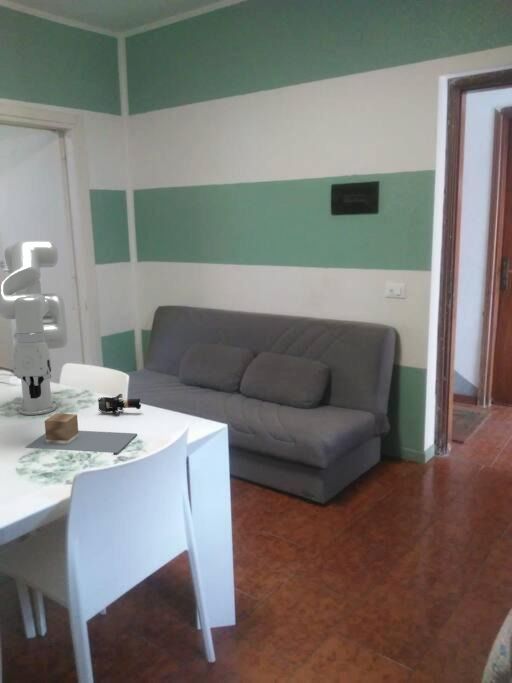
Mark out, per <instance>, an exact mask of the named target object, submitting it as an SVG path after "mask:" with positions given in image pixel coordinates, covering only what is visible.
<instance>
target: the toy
mask: <svg viewBox="0 0 512 683" xmlns="http://www.w3.org/2000/svg"><path fill="white" fill-rule="evenodd" d="M97 403H98V411H99V412H100V413H112V414H114V416H115V417H117V416H120V414H121V412H123V411H124V409H130V408H131V409H134V408H135V409H136V410H140V409H141V407H142V405H141V398H130V399H123V394H122V393H119V394H118V395H116V396H115V397H113V396H112V397H108V396H107V397H104V396H101V397H98V399H97Z"/></svg>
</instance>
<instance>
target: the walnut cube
mask: <svg viewBox="0 0 512 683" xmlns="http://www.w3.org/2000/svg"><path fill="white" fill-rule="evenodd" d="M78 424H79V421H78V414H77V413H75V414H73V413H71V414H70V413H57V412H56V413H54V414H53V415H51V416H50V417H48V418H47V419H45V420H44V429H45V430H44V432H45V433H46V443H59V444H69V443H70V442H71V441H73V440H74V439H75V438H76V437H78V436H79V435H78V431H79V425H78Z"/></svg>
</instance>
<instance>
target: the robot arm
mask: <svg viewBox="0 0 512 683" xmlns="http://www.w3.org/2000/svg"><path fill="white" fill-rule="evenodd" d="M3 253H4V260H5V264H6V268H7V270H8V272H9V274H8V275H7V276H6V277H5V278H4V279H3V280H2V281H1V282H0V317H1V318H3V319H5V320H15V326H16V327H15V330H14V333H13V338H14V341H15V343H14V348H13V373H14V375H15V376H16V378H17V379H19V380H21V382H20V383H21V391H22V397H15V398H14V401H13V404H14V405H20V407H19V409H18V411H19V413H20V414H22V415H25V416H35V415H36V416H37V415H43V414H47V413H51V412H53V411H55V410H56V409H57V404H56V403H55V402H52V392H51V380H50V379H51V378H52V374H51V372H52V360H51V355H50V353H51V352H50V350H53V349H54V350H55V349H56V350H57V349H62V348H65V347H66V345H67V344H68V341H69V340H68V339H69V338H68V336H69V335H68V327H67V317H66V308H65V302H64V299H63V297H62V296H61V295H60V294H58V293H48V292H47V293H42V288H41V281H40V278H41V268H54V267H56V265H57V263H58V260H59V252H58V248H57V245H56V244H55V243H54V242H53V241H52V240H44V239H43V240H41V239H40V240H20V241H17V242H15V243H14V244H11V245H8V246H7V247H5V249H4V252H3ZM44 321H48V322H44ZM49 321H50V322H49Z"/></svg>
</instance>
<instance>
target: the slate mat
mask: <svg viewBox="0 0 512 683" xmlns="http://www.w3.org/2000/svg"><path fill="white" fill-rule="evenodd" d="M78 435H79V436H78V437H76V438H75V439H74V440H73V441H71V442H70V443H69V444H59V443H46V432H45V433H44V434H42V435H40V436H39V437H38V438H37V439H35V440H33V441H32V442H31V443H29V444H27V445H25V446H24V448H25V449H42V450H45V449H46V450H60V451H78V452H94V453H95V452H96V453H111V454H112V455H114V456H115V455H116V456H117V455H119V454H120V453H121V452H122V451H123V450H124V449H125V448H126V447H127V446H128V445H129V444H130V443H131V442H132V441H133V440H134V439H135V438H136V437H137V436H138V433H133V432H132V433H131V432H111V431H96V430H93V431H92V430H78Z"/></svg>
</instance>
